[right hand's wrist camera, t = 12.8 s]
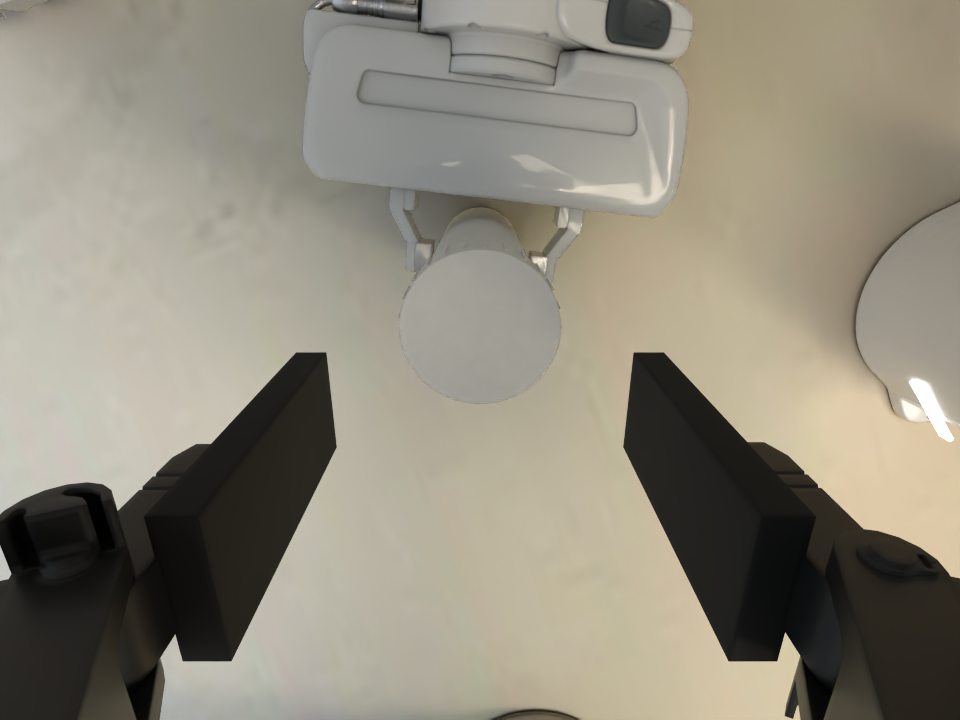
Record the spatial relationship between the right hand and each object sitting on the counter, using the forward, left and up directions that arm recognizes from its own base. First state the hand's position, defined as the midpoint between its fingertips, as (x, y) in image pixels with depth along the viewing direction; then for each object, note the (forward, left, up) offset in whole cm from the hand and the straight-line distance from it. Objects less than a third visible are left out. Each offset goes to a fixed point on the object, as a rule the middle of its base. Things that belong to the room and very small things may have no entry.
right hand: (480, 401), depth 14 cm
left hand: (0, +1, -19) cm, 19 cm away
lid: (0, 0, -6) cm, 6 cm away
